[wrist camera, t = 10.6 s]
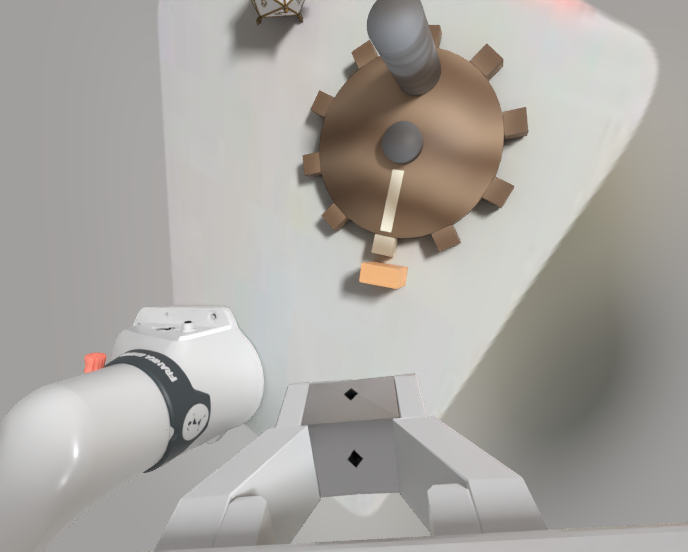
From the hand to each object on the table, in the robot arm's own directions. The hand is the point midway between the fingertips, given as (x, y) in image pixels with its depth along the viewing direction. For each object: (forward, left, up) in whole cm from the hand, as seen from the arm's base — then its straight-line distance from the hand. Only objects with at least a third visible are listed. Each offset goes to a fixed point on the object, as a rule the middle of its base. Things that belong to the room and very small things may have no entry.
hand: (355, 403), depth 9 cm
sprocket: (-8, +13, -34) cm, 38 cm away
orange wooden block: (-8, 0, -34) cm, 35 cm away
